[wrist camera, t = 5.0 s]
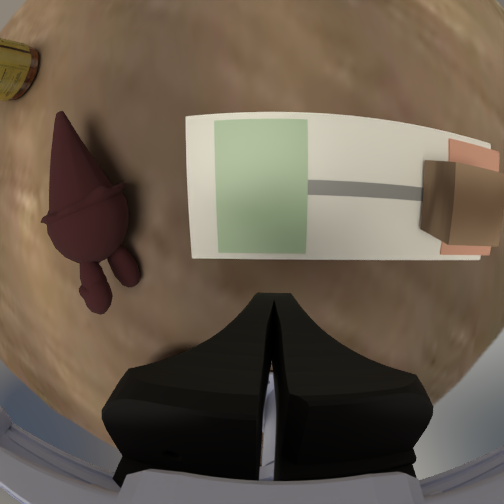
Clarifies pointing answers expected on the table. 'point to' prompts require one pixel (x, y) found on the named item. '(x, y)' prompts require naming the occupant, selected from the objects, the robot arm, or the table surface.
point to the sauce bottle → (16, 68)
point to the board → (317, 186)
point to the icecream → (87, 217)
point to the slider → (462, 203)
